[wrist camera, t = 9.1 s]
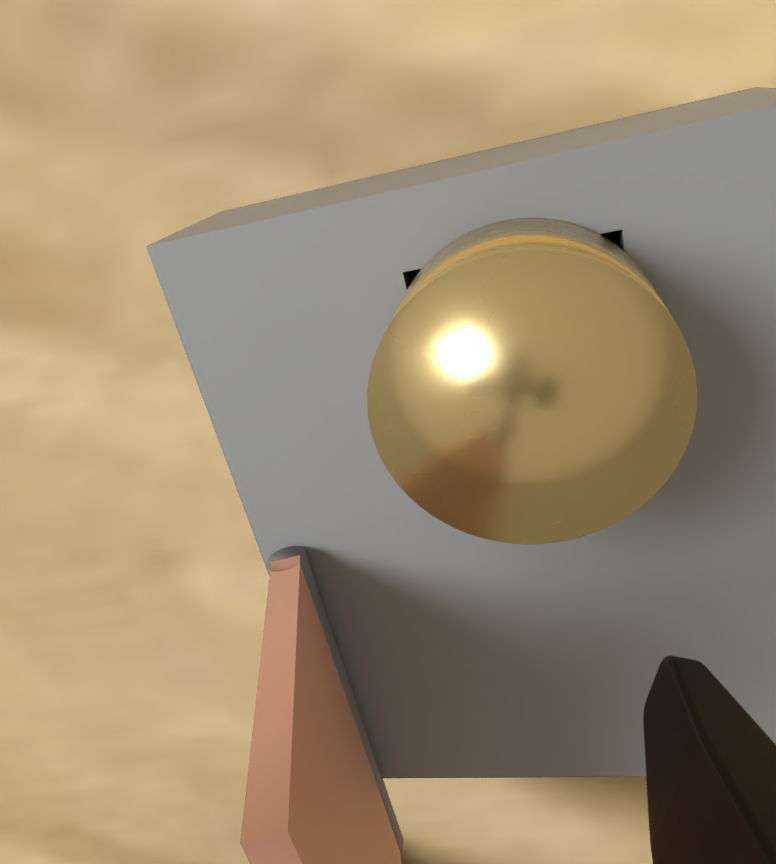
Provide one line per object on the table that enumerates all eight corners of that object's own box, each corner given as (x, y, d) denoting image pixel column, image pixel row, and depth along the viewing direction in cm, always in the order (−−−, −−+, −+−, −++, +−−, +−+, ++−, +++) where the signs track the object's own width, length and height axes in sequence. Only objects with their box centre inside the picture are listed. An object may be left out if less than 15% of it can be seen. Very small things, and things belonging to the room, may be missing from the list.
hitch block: (760, 659, 24) (807, 775, 20) (370, 676, 27) (345, 778, 23) (755, 87, 16) (830, 91, 12) (220, 211, 20) (146, 246, 16)
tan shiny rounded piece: (645, 383, 20) (704, 529, 13) (439, 413, 21) (404, 556, 15) (627, 163, 17) (688, 215, 11) (395, 214, 19) (331, 285, 12)
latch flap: (401, 825, 24) (440, 1160, 16) (370, 832, 24) (395, 1170, 16) (305, 542, 19) (296, 829, 11) (267, 551, 19) (231, 845, 11)
